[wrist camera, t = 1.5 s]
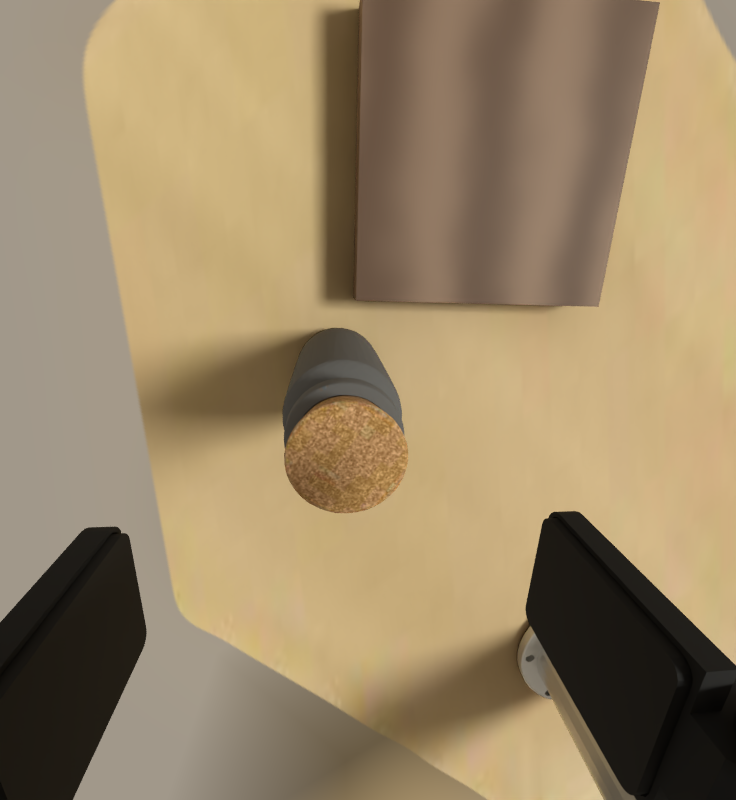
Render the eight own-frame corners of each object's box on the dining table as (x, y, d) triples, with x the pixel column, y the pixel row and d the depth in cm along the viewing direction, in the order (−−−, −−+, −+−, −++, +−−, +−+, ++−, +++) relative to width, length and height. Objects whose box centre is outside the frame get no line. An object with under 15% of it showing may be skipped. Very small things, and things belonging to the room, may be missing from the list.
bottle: (393, 375, 30) (451, 472, 16) (329, 420, 31) (331, 551, 17) (347, 310, 28) (365, 353, 14) (280, 359, 29) (234, 447, 15)
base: (621, 32, 25) (659, 2, 22) (572, 302, 30) (598, 306, 27) (359, 7, 23) (363, -29, 20) (353, 297, 28) (356, 300, 25)
